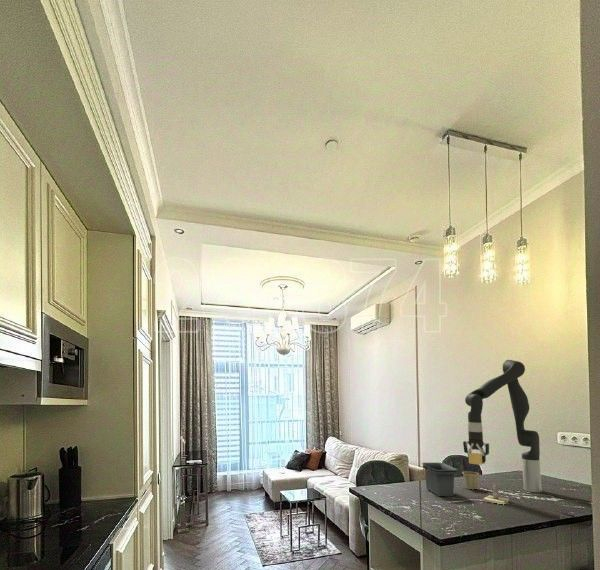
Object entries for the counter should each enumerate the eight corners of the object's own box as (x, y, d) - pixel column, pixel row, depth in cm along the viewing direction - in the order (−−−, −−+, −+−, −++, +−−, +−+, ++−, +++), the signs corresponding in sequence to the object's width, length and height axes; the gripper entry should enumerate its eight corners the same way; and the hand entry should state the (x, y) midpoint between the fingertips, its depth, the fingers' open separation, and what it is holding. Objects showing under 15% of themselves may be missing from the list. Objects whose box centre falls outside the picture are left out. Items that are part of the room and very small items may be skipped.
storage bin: (460, 497, 255) (459, 469, 258) (433, 498, 253) (432, 469, 255) (442, 488, 276) (441, 462, 278) (417, 489, 273) (416, 462, 276)
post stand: (489, 498, 255) (488, 482, 257) (509, 501, 249) (508, 485, 251) (483, 501, 247) (482, 485, 249) (503, 505, 241) (502, 488, 243)
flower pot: (463, 489, 274) (462, 473, 275) (462, 486, 282) (462, 470, 284) (480, 491, 271) (479, 475, 272) (479, 487, 280) (478, 472, 281)
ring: (473, 461, 270) (472, 452, 271) (485, 463, 266) (484, 453, 267) (468, 463, 265) (468, 453, 266) (481, 464, 261) (480, 455, 262)
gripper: (490, 431, 267) (492, 462, 264) (465, 429, 276) (466, 459, 273) (486, 432, 262) (488, 464, 259) (460, 430, 270) (461, 461, 267)
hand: (476, 461), depth 266 cm, fingers closed on ring, 6 cm apart
